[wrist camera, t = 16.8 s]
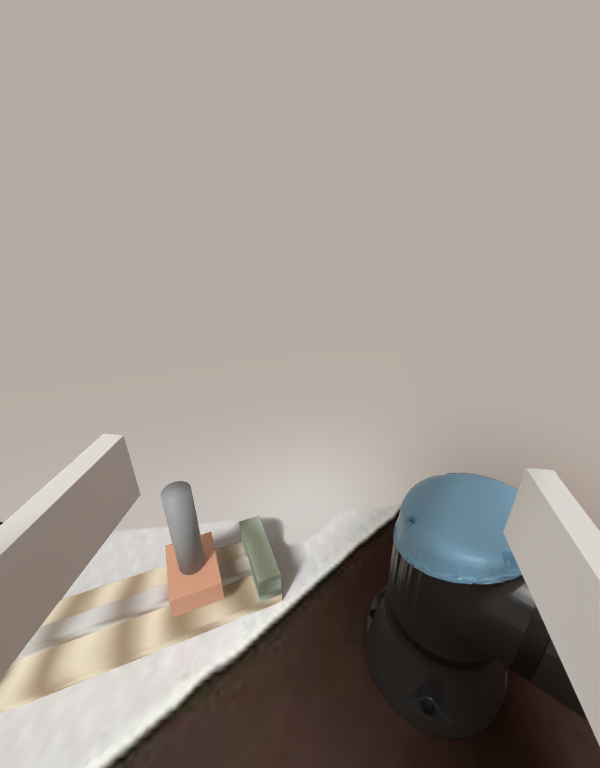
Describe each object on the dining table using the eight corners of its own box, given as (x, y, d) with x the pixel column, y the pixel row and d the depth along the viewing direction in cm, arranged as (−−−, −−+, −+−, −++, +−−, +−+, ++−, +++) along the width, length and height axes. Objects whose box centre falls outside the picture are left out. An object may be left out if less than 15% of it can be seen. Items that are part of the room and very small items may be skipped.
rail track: (261, 541, 54) (259, 515, 52) (282, 601, 46) (281, 574, 44) (-23, 636, 43) (-44, 608, 40) (-64, 739, 34) (-93, 712, 32)
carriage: (214, 552, 50) (199, 463, 43) (225, 604, 44) (208, 509, 36) (171, 566, 48) (146, 475, 41) (175, 623, 42) (147, 526, 34)
